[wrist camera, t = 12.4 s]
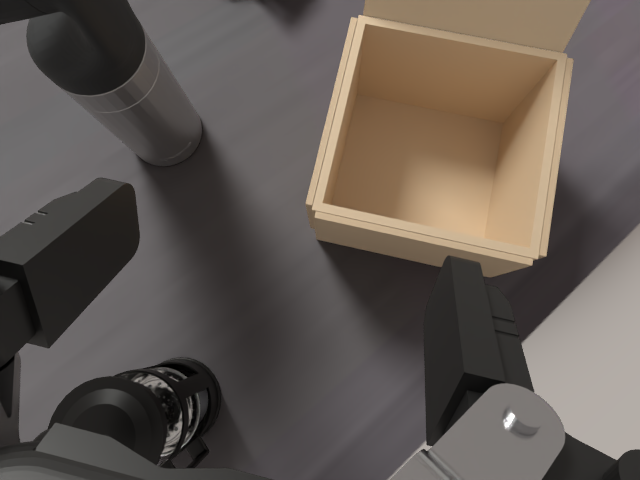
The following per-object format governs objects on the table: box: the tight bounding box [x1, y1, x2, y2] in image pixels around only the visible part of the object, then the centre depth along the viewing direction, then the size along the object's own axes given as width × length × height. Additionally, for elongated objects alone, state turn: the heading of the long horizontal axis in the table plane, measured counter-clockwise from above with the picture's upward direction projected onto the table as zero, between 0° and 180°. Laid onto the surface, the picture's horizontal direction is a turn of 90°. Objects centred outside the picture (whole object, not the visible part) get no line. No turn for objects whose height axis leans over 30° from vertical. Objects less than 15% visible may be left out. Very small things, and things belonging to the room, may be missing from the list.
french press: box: [34, 357, 221, 469], centre depth 38 cm, size 12×9×23 cm
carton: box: [306, 15, 574, 278], centre depth 47 cm, size 21×21×14 cm
